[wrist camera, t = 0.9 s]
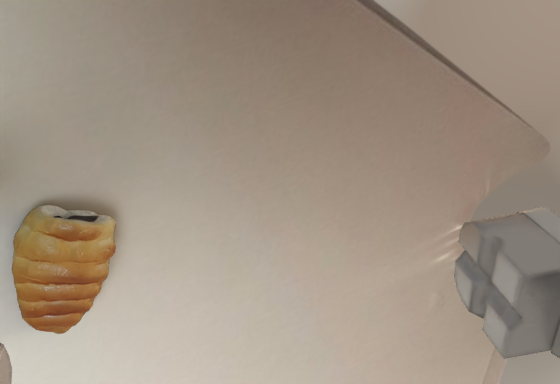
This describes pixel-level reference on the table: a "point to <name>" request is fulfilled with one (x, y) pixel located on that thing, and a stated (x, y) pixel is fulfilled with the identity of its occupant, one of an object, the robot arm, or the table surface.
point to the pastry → (60, 265)
